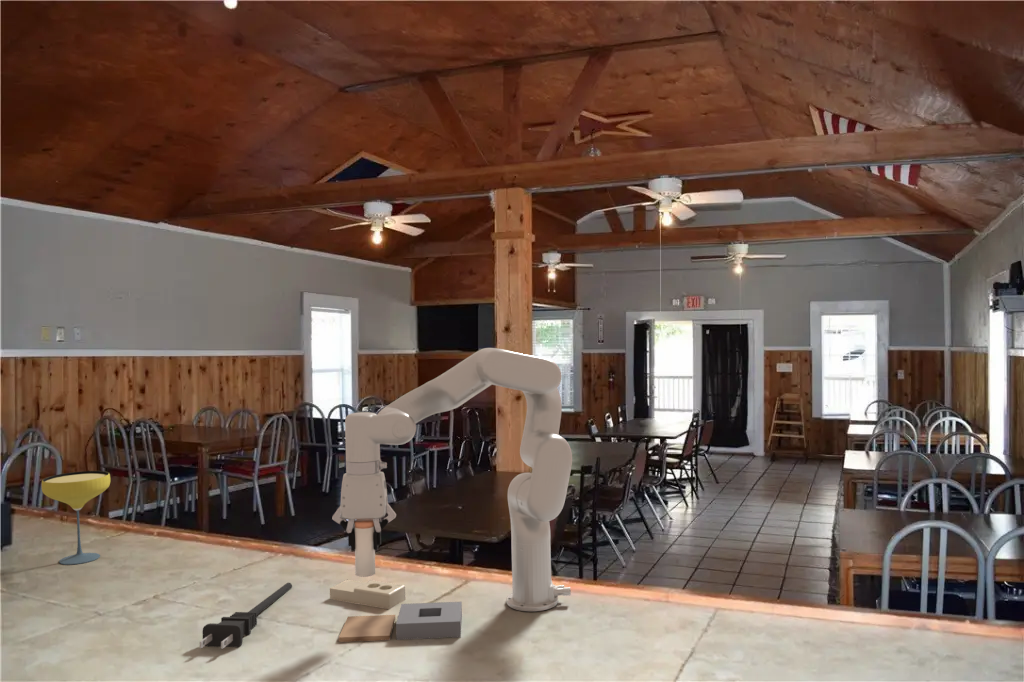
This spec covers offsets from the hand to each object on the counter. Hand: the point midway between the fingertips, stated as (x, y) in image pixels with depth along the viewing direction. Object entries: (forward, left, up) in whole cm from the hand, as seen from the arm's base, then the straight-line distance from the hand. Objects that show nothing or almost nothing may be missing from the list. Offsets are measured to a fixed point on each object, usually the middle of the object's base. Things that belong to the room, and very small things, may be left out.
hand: (365, 547), depth 177 cm
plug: (0, 0, -6) cm, 6 cm away
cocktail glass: (+95, -63, -19) cm, 115 cm away
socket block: (-14, 0, -19) cm, 23 cm away
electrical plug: (+28, -10, -19) cm, 36 cm away
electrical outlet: (+3, -20, -19) cm, 28 cm away
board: (0, 0, -19) cm, 19 cm away
